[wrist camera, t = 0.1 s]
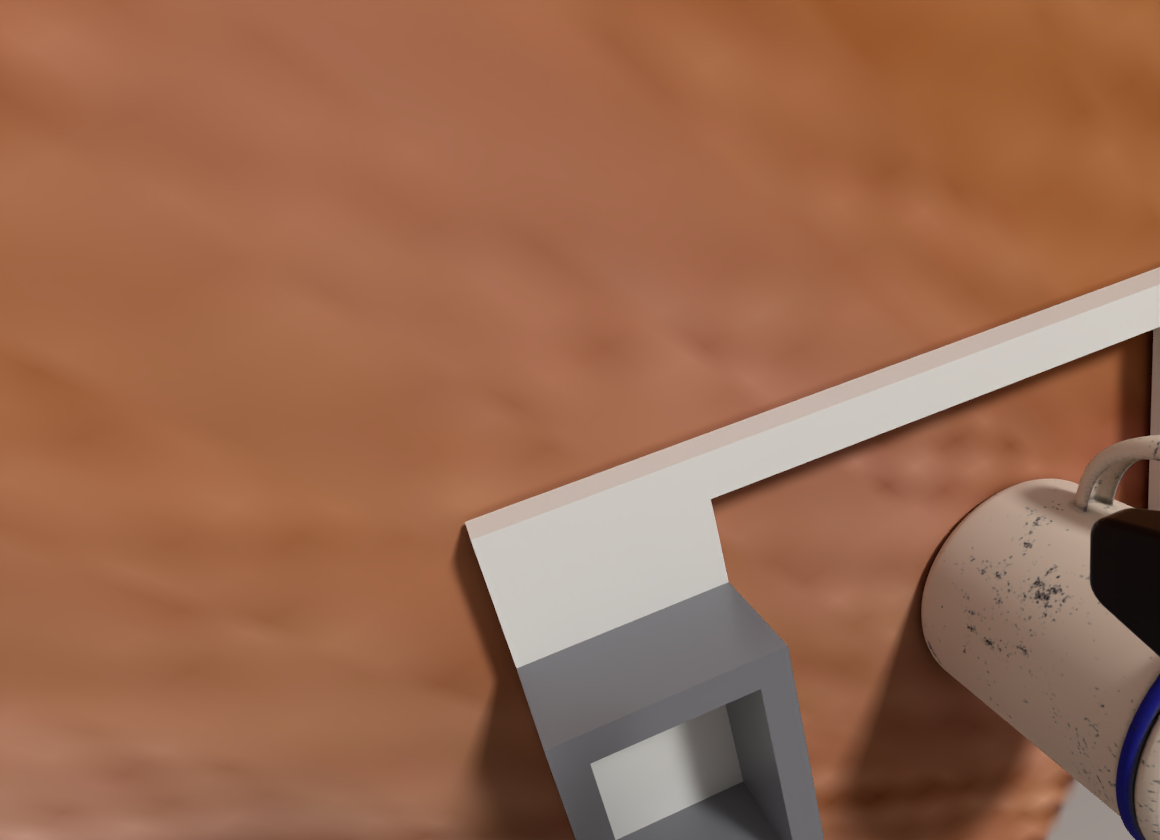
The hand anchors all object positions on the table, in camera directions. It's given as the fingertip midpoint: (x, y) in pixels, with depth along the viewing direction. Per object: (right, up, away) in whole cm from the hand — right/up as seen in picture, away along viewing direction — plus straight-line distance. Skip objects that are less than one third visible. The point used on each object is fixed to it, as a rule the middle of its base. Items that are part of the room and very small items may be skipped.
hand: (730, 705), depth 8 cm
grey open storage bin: (+10, -4, +20) cm, 22 cm away
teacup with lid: (+15, -2, +21) cm, 26 cm away
